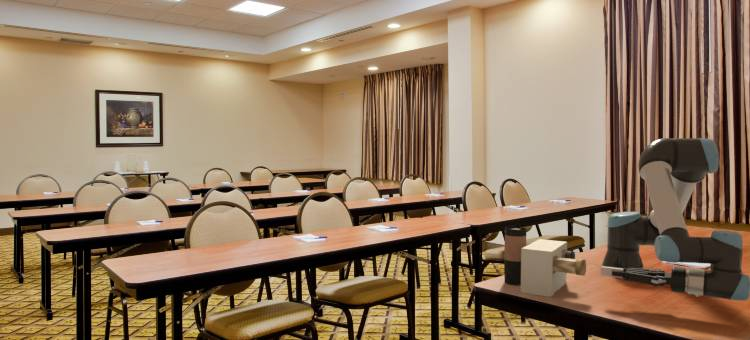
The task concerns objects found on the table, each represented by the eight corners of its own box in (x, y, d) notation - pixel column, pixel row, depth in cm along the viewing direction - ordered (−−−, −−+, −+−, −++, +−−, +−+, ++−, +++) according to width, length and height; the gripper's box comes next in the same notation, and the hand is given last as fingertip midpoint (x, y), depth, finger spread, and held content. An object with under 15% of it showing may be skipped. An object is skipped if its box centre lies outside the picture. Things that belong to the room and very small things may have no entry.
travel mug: (510, 286, 188) (511, 230, 187) (499, 280, 195) (500, 226, 194) (529, 284, 190) (530, 229, 189) (518, 279, 197) (519, 226, 196)
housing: (566, 282, 193) (567, 241, 193) (550, 297, 175) (551, 251, 174) (538, 278, 199) (539, 239, 198) (520, 292, 180) (521, 248, 179)
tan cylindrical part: (574, 264, 189) (575, 250, 189) (571, 267, 185) (572, 252, 185) (537, 260, 196) (537, 246, 196) (533, 262, 192) (533, 248, 192)
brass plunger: (586, 273, 176) (586, 258, 176) (582, 277, 171) (583, 261, 171) (544, 268, 183) (545, 253, 183) (540, 271, 179) (541, 256, 178)
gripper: (685, 298, 153) (597, 286, 165) (686, 288, 164) (604, 278, 176) (686, 272, 153) (598, 262, 165) (687, 264, 164) (604, 255, 176)
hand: (601, 270), depth 171 cm, fingers closed
